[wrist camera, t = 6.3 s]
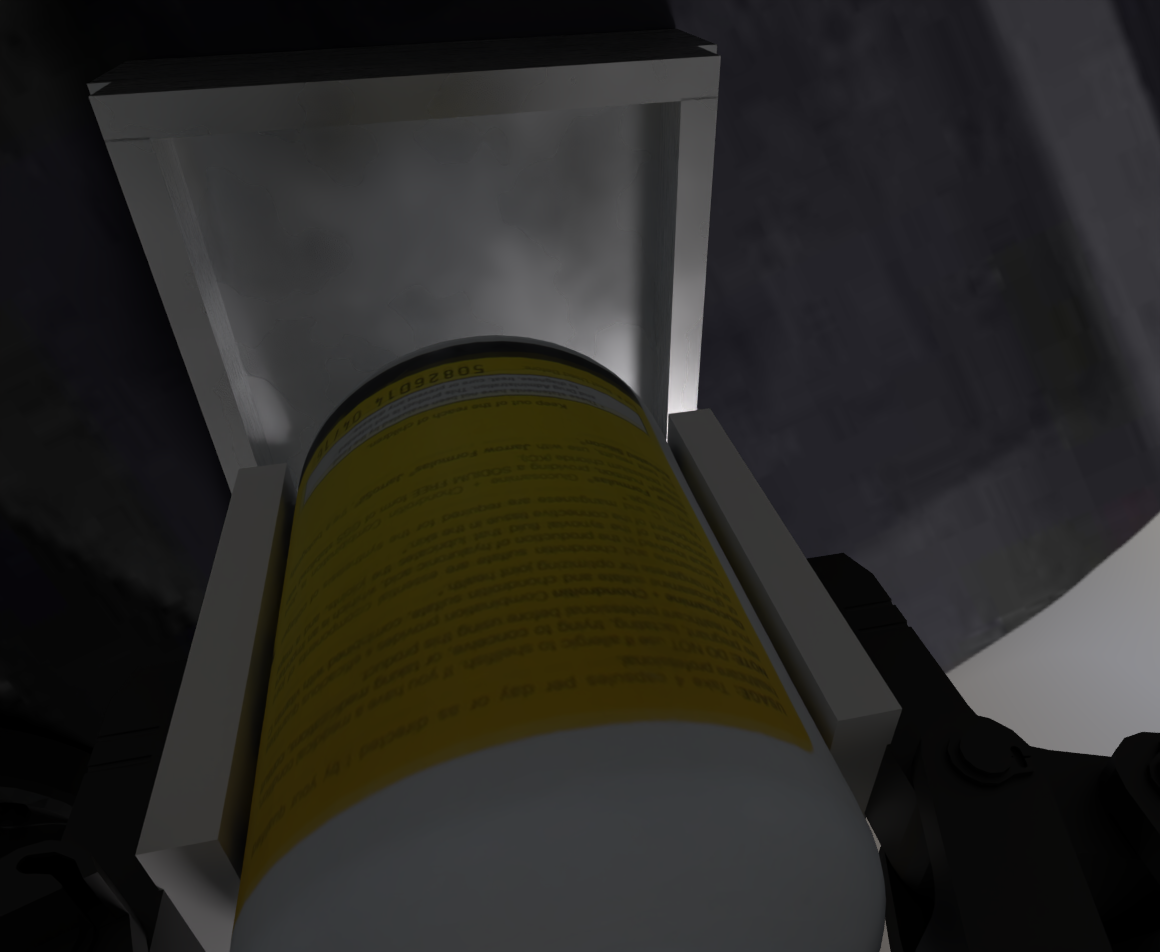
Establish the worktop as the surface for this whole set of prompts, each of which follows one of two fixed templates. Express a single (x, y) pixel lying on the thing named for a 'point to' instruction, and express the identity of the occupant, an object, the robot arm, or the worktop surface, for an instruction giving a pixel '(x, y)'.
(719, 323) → the worktop surface
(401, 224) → the motor base
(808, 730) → the pill bottle
